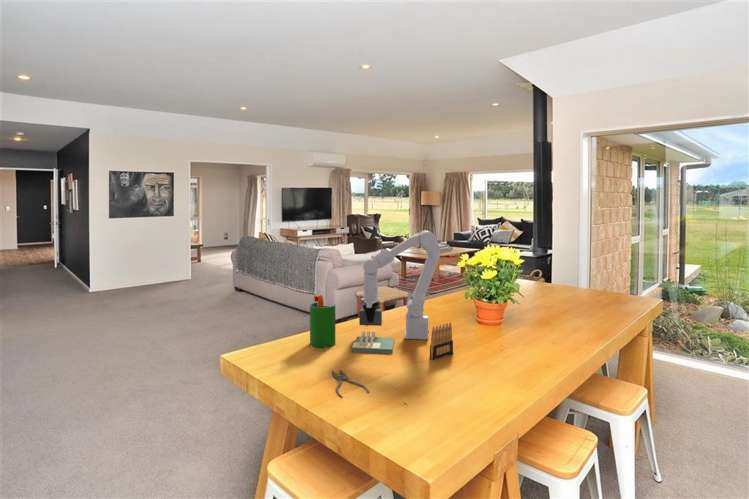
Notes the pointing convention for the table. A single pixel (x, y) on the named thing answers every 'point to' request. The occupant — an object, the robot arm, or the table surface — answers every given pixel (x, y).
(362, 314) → the block
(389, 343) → the header board
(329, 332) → the green and brown cylinder
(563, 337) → the table surface
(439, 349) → the ammunition clip
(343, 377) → the pliers
